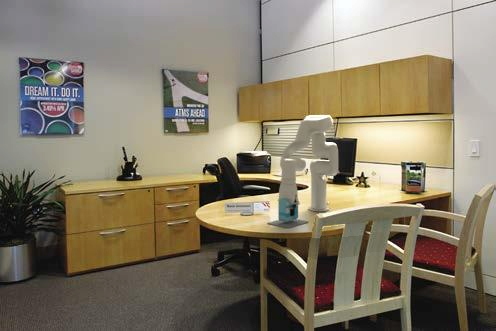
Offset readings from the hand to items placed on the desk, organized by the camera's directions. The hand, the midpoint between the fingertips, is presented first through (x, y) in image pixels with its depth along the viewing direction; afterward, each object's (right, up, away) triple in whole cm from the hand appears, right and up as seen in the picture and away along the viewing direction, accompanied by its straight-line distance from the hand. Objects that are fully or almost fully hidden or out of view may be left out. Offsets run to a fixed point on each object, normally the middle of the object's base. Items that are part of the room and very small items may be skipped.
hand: (288, 214), depth 214 cm
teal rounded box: (0, -3, 0) cm, 3 cm away
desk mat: (0, -5, 0) cm, 5 cm away
